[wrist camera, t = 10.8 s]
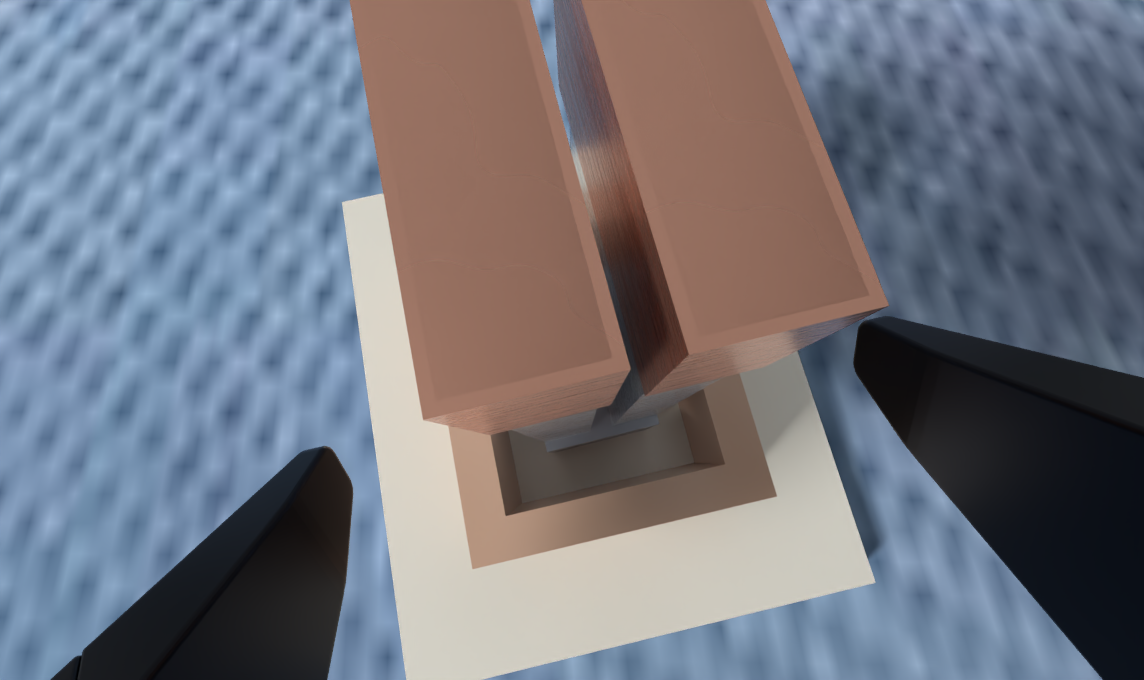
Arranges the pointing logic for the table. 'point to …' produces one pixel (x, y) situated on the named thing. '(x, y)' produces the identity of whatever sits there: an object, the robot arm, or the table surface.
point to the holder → (591, 508)
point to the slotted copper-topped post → (601, 207)
